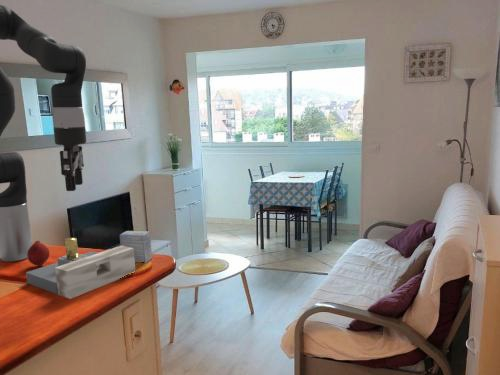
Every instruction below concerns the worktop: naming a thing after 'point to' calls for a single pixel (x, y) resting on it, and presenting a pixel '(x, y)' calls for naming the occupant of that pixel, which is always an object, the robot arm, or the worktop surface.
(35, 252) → the onion
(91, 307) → the worktop surface
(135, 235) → the medicine box
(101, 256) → the block
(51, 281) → the door leaf
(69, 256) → the bolt
